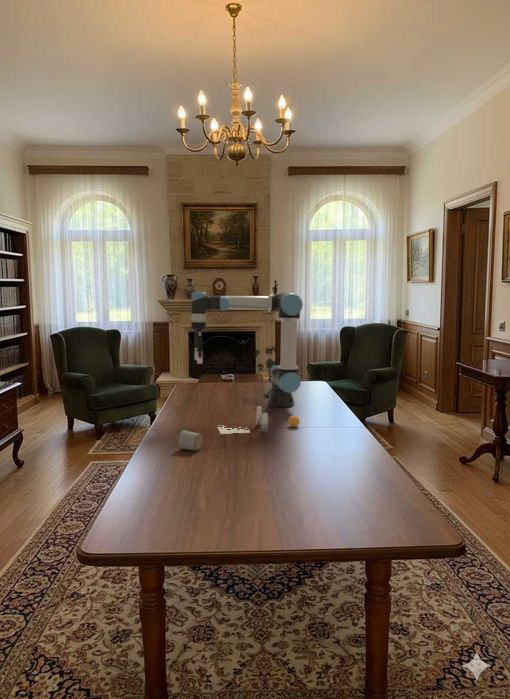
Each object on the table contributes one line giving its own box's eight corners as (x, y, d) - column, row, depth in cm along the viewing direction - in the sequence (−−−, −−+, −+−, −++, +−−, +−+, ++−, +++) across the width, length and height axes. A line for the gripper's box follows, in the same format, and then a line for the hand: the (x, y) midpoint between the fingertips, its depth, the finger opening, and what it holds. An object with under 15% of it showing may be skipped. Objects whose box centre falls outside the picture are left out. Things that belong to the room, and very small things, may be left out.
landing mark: (244, 424, 247) (244, 424, 247) (250, 432, 234) (250, 432, 234) (216, 426, 245) (216, 425, 245) (220, 434, 231) (220, 433, 231)
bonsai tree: (252, 391, 330) (253, 343, 326) (289, 391, 330) (290, 343, 326) (252, 403, 295) (253, 349, 291) (293, 403, 295) (295, 350, 292)
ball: (297, 425, 249) (297, 414, 248) (300, 428, 243) (301, 416, 243) (286, 425, 248) (287, 414, 247) (289, 428, 242) (290, 417, 242)
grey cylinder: (195, 453, 204) (195, 434, 203) (177, 450, 207) (177, 432, 206) (206, 446, 214) (206, 428, 213) (188, 444, 217) (189, 426, 216)
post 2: (266, 430, 238) (267, 412, 236) (267, 432, 235) (268, 413, 234) (261, 431, 237) (261, 412, 236) (262, 432, 235) (263, 413, 233)
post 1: (260, 423, 250) (261, 406, 249) (262, 425, 247) (262, 407, 246) (256, 424, 249) (256, 406, 248) (257, 425, 247) (257, 407, 246)
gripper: (189, 320, 275) (189, 358, 277) (193, 323, 250) (193, 365, 253) (203, 320, 276) (203, 358, 279) (208, 323, 252) (208, 365, 254)
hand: (198, 361), depth 266 cm, fingers open, 13 cm apart
